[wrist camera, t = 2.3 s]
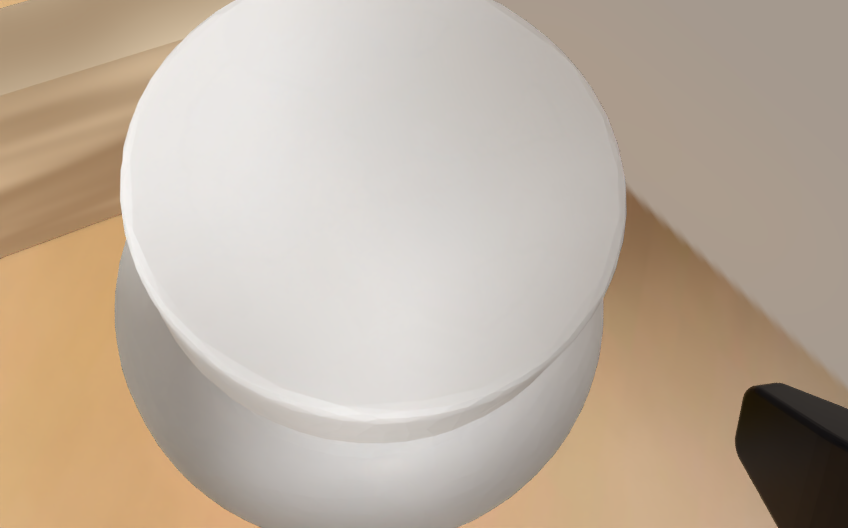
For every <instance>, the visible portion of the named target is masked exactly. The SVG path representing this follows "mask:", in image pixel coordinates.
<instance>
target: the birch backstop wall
mask: <svg viewBox="0 0 848 528" xmlns="http://www.w3.org/2000/svg"><path fill="white" fill-rule="evenodd" d="M233 1H235V0H29V1H25V2H21V3H18V4H14V5H11V6H7V7H3V8H0V258H3V257H5V256H8V255H11V254H13V253H16V252H19V251H22V250H24V249H27V248H30V247H32V246H35V245H38V244H41V243H43V242H46V241H49V240H52V239H54V238H57V237H60V236H62V235H65V234H68V233H71V232H73V231H76V230H79V229H82V228H84V227H87V226H90V225H92V224H95V223H98V222H101V221H103V220H106V219H109V218H111V217H114V216H117V215H120V214H122V210H121V203H120V176H121V166H122V160H123V147H124V143H125V140H126V136H127V132H128V129H129V125H130V122H131V120H132V117H133V114H134V112H135V109H136V107H137V104H138V102H139V100H140V98H141V96H142V94H143V92H144V90H145V89H146V87H147V85H148V83H149V81H150V79H151V78H152V76H153V75H154V74H155V72H156V71H157V70H158V68H159V67H160V65H161V64H162V63H163V61H164V60H165V58H166V57H167V56H168V55H169V54H170V53H171V52H172V50H173V49H174V48H175V47H176V46H177V45H178V44H179V43H180V42H182V41H183V39H184V38H185V37H186V36H187V35H188V34H189V33H190V32H191V31H192V30H193V29H195V28H196V27H197V26H198V25H199V24H201V23H202V22H203V21H204V20H206V19H207V18H208V17H210V16H211V15H212V14H214V13H215V12H216V11H218V10H220V9H221V8H223V7H224V6H226V5H228V4H229V3H231V2H233Z"/></svg>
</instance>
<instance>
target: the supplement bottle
mask: <svg viewBox="0 0 848 528" xmlns="http://www.w3.org/2000/svg"><path fill="white" fill-rule="evenodd" d="M120 203H121V210H122V217H123V224H124V230H125V236H126V242H125V246H124V249H123V253H122V256H121V260H120V265H119V271H118V278H117V284H116V291H115V330H116V338H117V345H118V350H119V356H120V361H121V366H122V370H123V373H124V376H125V379H126V383H127V386H128V388H129V391H130V393H131V395H132V397H133V399H134V402H135V404H136V406H137V408H138V410H139V412H140V414H141V416H142V418H143V420H144V422H145V424H146V426H147V428H148V429H149V431H150V433H151V434H152V436H153V437H154V439H155V441H156V442H157V444H158V446H159V447H160V448H161V449H162V451H163V452H164V453H165V455H166V456H167V457H168V458H169V460H170V461H171V462H172V463H173V464H174V466H175V467H176V468H177V469H178V470H179V471H180V472H181V473H182V474H183V475H184V476H185V477H186V478H187V479H188V480H189V481H190V482H191V483H192V484H193V485H194V486H195V487H196V488H198V489H199V490H200V491H201V492H203V493H204V494H205V495H206V496H208V497H209V498H210V499H212V500H213V501H214V502H216V503H217V504H218V505H220V506H221V507H223V508H224V509H226V510H228V511H229V512H231V513H233V514H235V515H237V516H238V517H240V518H242V519H244V520H246V521H248V522H250V523H252V524H255V525H257V526H259V527H261V528H457V527H459V526H462V525H464V524H466V523H469V522H471V521H473V520H475V519H477V518H479V517H480V516H482V515H484V514H486V513H487V512H489V511H491V510H492V509H494V508H495V507H497V506H498V505H500V504H501V503H503V502H504V501H506V500H507V499H509V498H510V497H512V496H513V495H514V494H515V493H516V492H517V491H519V490H520V489H521V488H522V487H523V486H524V485H525V484H527V483H528V482H529V481H530V480H531V479H532V478H533V477H534V476H535V475H537V473H538V472H539V471H540V470H541V469H542V468H543V467H544V465H545V464H546V463H547V462H548V461H549V460H550V459H551V458H552V456H553V455H554V454H555V453H556V451H557V450H558V449H559V447H560V446H561V444H562V443H563V441H564V440H565V439H566V437H567V435H568V434H569V432H570V430H571V428H572V427H573V425H574V423H575V421H576V419H577V417H578V416H579V414H580V412H581V410H582V408H583V405H584V403H585V401H586V398H587V396H588V393H589V391H590V387H591V384H592V381H593V378H594V375H595V371H596V367H597V364H598V360H599V355H600V348H601V341H602V334H603V303H604V302H603V298H604V296H605V293H606V291H607V289H608V287H609V284H610V282H611V280H612V277H613V275H614V272H615V270H616V267H617V262H618V258H619V254H620V251H621V247H622V244H623V239H624V231H625V222H626V181H625V176H624V170H623V165H622V161H621V156H620V151H619V147H618V143H617V140H616V138H615V135H614V132H613V130H612V127H611V124H610V122H609V119H608V116H607V114H606V113H605V110H604V109H603V107H602V105H601V103H600V102H599V100H598V98H597V96H596V94H595V92H594V91H593V89H592V88H591V86H590V85H589V83H588V82H587V81H586V79H585V77H584V76H583V74H582V73H581V72H580V71H579V70H578V68H577V67H576V66H575V65H574V64H573V63H572V61H571V60H570V59H569V58H568V57H567V56H566V55H565V53H564V52H563V51H562V50H561V49H560V48H559V47H557V46H556V45H555V44H554V43H553V42H552V41H551V40H550V39H549V38H548V37H547V36H545V35H544V34H543V33H542V32H540V31H539V30H538V29H536V28H535V27H534V26H533V25H531V24H530V23H529V22H527V21H526V20H525V19H523V18H522V17H520V16H519V15H517V14H516V13H514V12H513V11H511V10H510V9H508V8H506V7H505V6H503V5H502V4H500V3H498V2H496V1H494V0H235V1H233V2H231V3H229V4H228V5H226V6H224V7H223V8H221V9H220V10H218V11H216V12H215V13H214V14H212V15H211V16H210V17H208V18H207V19H206V20H204V21H203V22H202V23H201V24H199V25H198V26H197V27H196V28H195V29H193V30H192V31H191V32H190V33H189V34H188V35H187V36H186V37H185V38H184V39H183V41H182V42H180V43H179V44H178V45H177V46H176V47H175V48H174V49H173V50H172V52H171V53H170V54H169V55H168V56H167V57H166V58H165V60H164V61H163V63H162V64H161V65H160V67H159V68H158V70H157V71H156V72H155V74H154V75H153V76H152V78H151V79H150V81H149V83H148V85H147V87H146V89H145V90H144V92H143V94H142V96H141V98H140V100H139V102H138V104H137V107H136V109H135V112H134V114H133V117H132V120H131V122H130V125H129V129H128V132H127V136H126V140H125V143H124V147H123V160H122V166H121V176H120Z"/></svg>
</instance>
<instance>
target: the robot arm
mask: <svg viewBox="0 0 848 528" xmlns="http://www.w3.org/2000/svg"><path fill="white" fill-rule="evenodd" d="M735 446H736V451H737V454H738V457H739V459H740V461H741V463H742V464H743V466H744V468H745V470H746V471H747V473H748V475H749V477H750V479H751V480H752V482H753V484H754V486H755V487H756V489H757V491H758V493H759V495H760V496H761V498H762V500H763V502H764V503H765V505H766V507H767V509H768V511H769V512H770V514H771V516H772V518H773V520H774V521H775V523H776V525H777V527H778V528H848V409H847V408H844V407H842V406H839V405H837V404H834V403H832V402H829V401H826V400H824V399H821V398H819V397H816V396H814V395H811V394H808V393H806V392H803V391H801V390H798V389H796V388H793V387H791V386H788V385H785V384H782V383H771V384H764V385H757V386H752V387H750V388H749V389H748V390H747V391H746V392H745V394H744V397H743V401H742V406H741V411H740V416H739V421H738V426H737V431H736V436H735Z"/></svg>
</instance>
